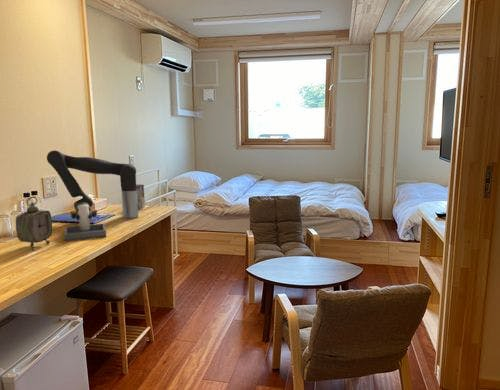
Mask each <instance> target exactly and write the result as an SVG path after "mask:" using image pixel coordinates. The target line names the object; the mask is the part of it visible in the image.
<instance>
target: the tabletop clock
mask: <svg viewBox="0 0 500 390" xmlns="http://www.w3.org/2000/svg"><path fill="white" fill-rule="evenodd" d="M31 199H35V200H36V201H35V203H34V202H31V203H30V204H29V203H28V202H29V200H31ZM37 203H38V198H37V197H36V196H30V197H28V198H27V199H26V205H27V206H29V207H27V209H26V211H23V212H22V213H20V214H18V215H17V216H16V217H15V229H16V236H17V239H18V240H19V241H20V242H23V243H30V245H29V246H30V247H31V248H30V251H32V252H33V251H35V247H34V246H35V245H34V243H35V244H38V243H41V242H44V241H45V243H46V244H47V245H49V244H50V242H51V241H50V240H49V238H51V237H52V235H53V222H52V221H53V220H52V215H51V214H52V213H51V212H50V210H41V209H39V207H37V206H36V204H37ZM47 239H48V240H47Z"/></svg>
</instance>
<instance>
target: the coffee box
mask: <svg viewBox="0 0 500 390" xmlns="http://www.w3.org/2000/svg"><path fill="white" fill-rule="evenodd" d="M136 186H137V202H138V211H141V210H143V209H144V208H145V207H146V203H145V200H146V199H145V185H144V184H136Z"/></svg>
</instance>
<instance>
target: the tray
mask: <svg viewBox="0 0 500 390" xmlns="http://www.w3.org/2000/svg"><path fill="white" fill-rule="evenodd" d="M106 237H107V229H106V226H105V223H96V224H90V229H89V230H80V228H79V225H74V226H71V225H70V226H65V227H64V241H65V242H69V241H70V240H71V241H79V239H81V240H87V239H88V240H89V239H90V238H91V239H98V238H99V239H100V238H101V239H102V238H106Z"/></svg>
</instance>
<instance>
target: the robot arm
mask: <svg viewBox="0 0 500 390" xmlns="http://www.w3.org/2000/svg"><path fill="white" fill-rule="evenodd" d="M46 161H47V163H48V164H49V165H51V167H52V168H53V169H54V170H55V171H56V173H57V174H58V176H59V178H60V179H61V180H62V183H63V185H64V187H65V189H66V190H67V192H68V194H69V195H70V197H71V198H77V197H82V198H80V199H78V200H76V201H75V202H74V203H73V207H74V209H75V212H74V211H70V218H71V219H76V220H77V221H79V213H78V205H83V204H86V205H89V220H91V219H93V218H96V217H97V215H98V210H97V209H94V210H92V207H93V205H94V202H93V200H92V199H91V198H90V197H89V196H88V195H87V194H86V192H84V191H83V189H82V187H81V186H80V184H79V183H78V181H77V180H76V179H75V177H74V176H73V174H72V173H71V172H70V170H69V169H71V170H72V169H73V170H77V171H81V172H86V173H89V174H90V173H91V174H94V175H95V174H97V175H115V176H119V178H120V189H121V205H122V206H121V207H122V209H121V210H122V218H123V219H134V218H139V210H138V202H137V186H136V185H137V175H136V174H137V169H136V167H135V166H134V165H133V164H130V163H118V162H112V161H108V160H104V159H101V158H95V157H89V156H71V155H67V154H64V153H62V152H60V151H59V150H55V149H54V150H51V151H49V152H48V153H47V154H46Z"/></svg>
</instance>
